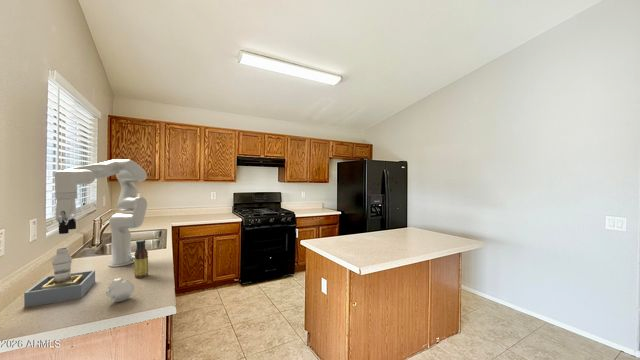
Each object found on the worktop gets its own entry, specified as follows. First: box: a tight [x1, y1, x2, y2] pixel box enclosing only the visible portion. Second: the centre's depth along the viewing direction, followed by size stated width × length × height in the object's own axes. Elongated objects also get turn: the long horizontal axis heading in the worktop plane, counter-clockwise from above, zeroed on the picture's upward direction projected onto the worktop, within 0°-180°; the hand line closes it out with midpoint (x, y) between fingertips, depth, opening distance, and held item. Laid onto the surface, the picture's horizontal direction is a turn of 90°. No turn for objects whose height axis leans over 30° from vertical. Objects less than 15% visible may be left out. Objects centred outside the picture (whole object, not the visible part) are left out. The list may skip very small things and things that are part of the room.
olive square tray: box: [41, 274, 83, 290], centre depth 120 cm, size 11×11×5 cm
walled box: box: [23, 269, 96, 308], centre depth 120 cm, size 18×20×6 cm
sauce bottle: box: [133, 239, 149, 279], centre depth 140 cm, size 6×6×20 cm
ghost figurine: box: [105, 277, 135, 303], centre depth 113 cm, size 9×10×10 cm
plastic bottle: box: [51, 247, 73, 285], centre depth 119 cm, size 6×7×20 cm
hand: (67, 231), depth 124 cm, fingers open, 9 cm apart
